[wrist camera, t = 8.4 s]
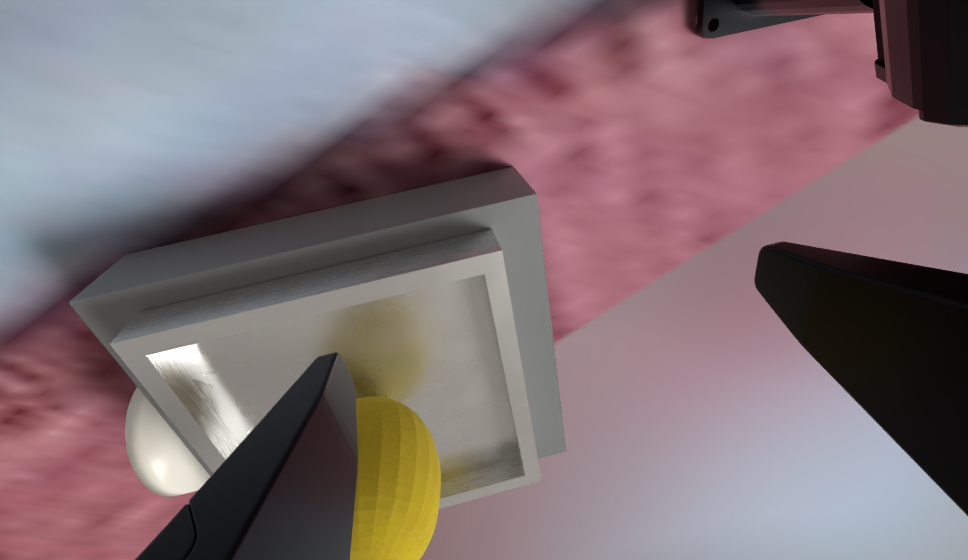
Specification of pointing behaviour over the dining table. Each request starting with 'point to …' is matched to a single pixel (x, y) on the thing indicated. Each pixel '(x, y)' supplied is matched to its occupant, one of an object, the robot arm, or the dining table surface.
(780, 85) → the dining table surface
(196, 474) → the scale
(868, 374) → the robot arm
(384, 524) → the lemon
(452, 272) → the pan
